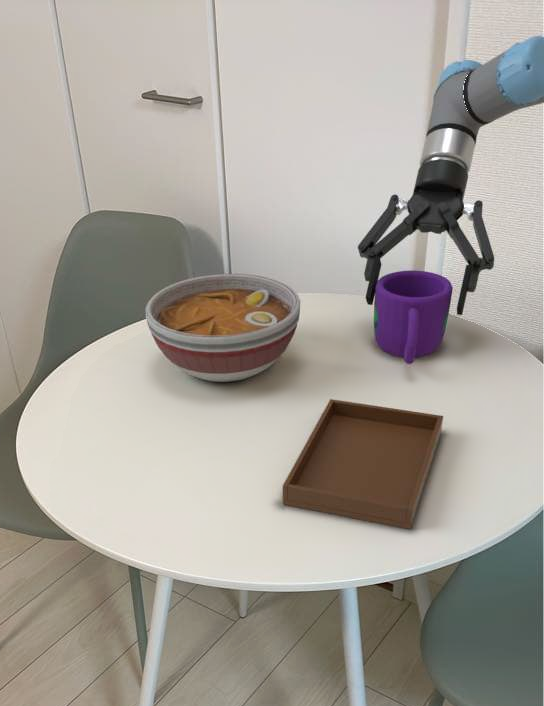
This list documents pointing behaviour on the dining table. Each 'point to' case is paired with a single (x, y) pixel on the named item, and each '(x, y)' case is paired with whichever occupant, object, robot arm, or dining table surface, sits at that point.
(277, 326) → the bowl
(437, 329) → the mug
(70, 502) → the dining table surface
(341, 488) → the tray
